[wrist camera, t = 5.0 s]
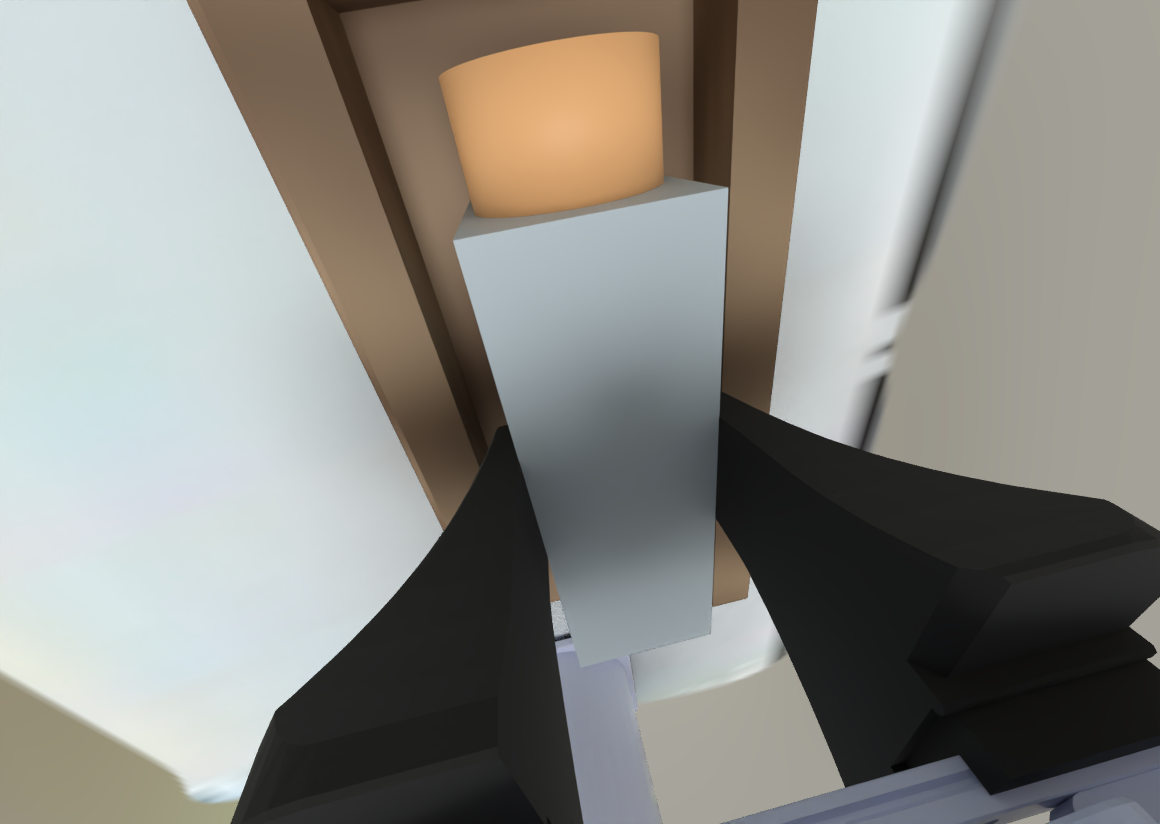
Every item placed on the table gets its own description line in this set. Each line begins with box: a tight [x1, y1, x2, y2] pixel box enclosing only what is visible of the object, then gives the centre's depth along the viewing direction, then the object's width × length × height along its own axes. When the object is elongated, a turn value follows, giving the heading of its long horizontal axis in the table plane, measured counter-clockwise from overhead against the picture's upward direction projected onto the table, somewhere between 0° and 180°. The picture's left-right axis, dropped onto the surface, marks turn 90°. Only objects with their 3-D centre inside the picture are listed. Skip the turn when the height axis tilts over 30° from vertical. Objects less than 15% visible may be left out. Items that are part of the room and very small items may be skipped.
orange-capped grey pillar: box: [439, 32, 728, 668], centre depth 11 cm, size 14×4×5 cm, turn 9°
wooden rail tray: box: [187, 0, 818, 607], centre depth 13 cm, size 21×12×3 cm, turn 9°
